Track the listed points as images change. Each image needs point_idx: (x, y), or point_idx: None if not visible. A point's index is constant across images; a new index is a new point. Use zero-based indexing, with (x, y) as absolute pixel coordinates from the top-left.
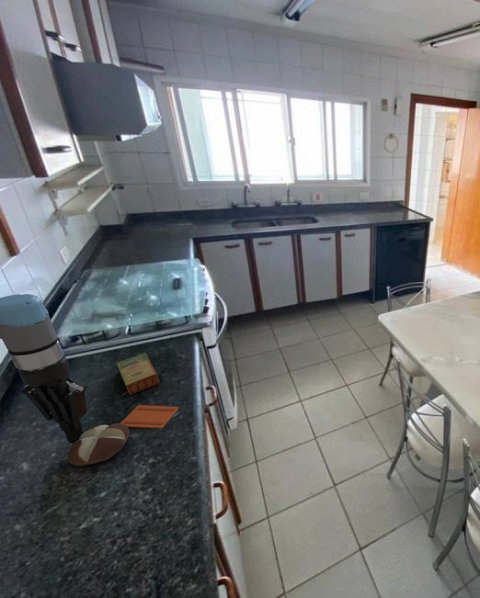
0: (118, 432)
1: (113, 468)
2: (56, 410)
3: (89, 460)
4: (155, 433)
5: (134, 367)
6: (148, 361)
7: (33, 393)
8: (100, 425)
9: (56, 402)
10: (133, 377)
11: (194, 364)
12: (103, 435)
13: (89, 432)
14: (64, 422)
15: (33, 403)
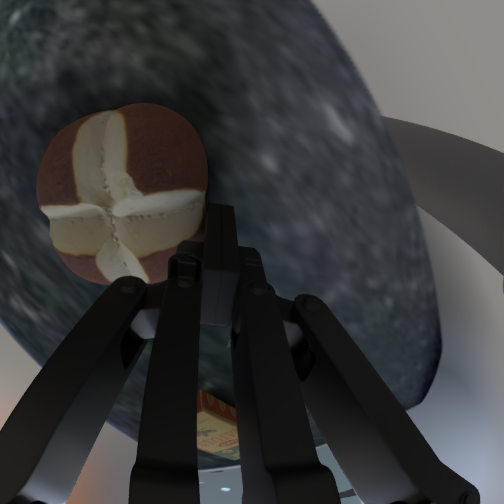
0: (57, 236)
1: (23, 95)
2: (248, 364)
3: (97, 112)
4: (4, 238)
5: (225, 442)
6: (205, 450)
7: (410, 498)
8: (146, 277)
9: (247, 435)
10: (201, 426)
11: (117, 429)
12: (97, 224)
13: (148, 239)
14: (201, 274)
15: (404, 411)
